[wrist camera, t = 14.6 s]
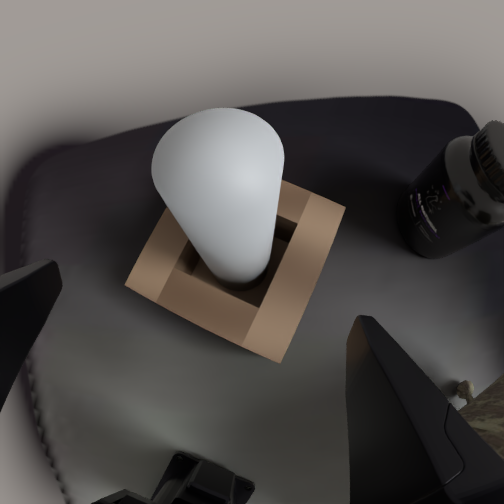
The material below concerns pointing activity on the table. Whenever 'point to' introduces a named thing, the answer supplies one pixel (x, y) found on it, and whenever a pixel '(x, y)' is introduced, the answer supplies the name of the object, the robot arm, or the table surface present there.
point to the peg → (223, 190)
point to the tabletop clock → (485, 412)
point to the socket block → (250, 301)
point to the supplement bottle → (456, 195)
